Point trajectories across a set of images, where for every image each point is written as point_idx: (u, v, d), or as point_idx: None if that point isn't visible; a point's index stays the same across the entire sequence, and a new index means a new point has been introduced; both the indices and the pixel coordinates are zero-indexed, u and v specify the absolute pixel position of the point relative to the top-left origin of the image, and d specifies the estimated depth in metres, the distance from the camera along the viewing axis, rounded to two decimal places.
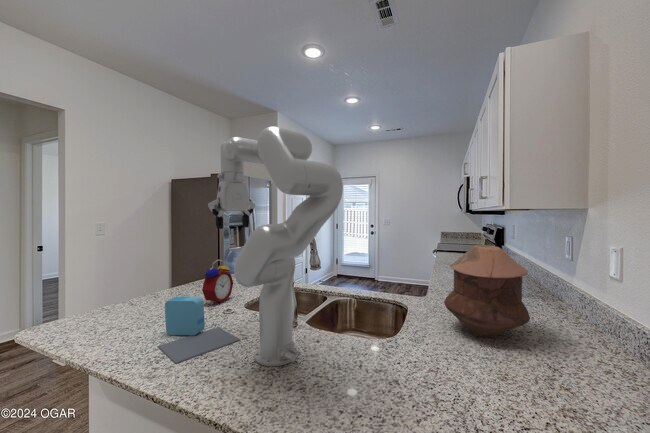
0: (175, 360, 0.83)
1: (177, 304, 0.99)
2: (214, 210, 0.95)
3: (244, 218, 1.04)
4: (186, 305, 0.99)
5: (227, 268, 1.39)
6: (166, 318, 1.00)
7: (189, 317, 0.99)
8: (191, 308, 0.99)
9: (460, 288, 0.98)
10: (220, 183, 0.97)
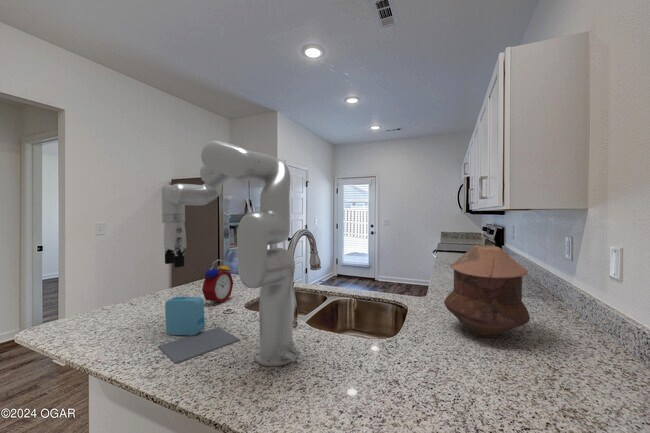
0: (175, 360, 0.83)
1: (177, 304, 1.00)
2: None
3: (170, 255, 1.11)
4: (186, 305, 0.99)
5: (227, 268, 1.39)
6: (166, 318, 1.00)
7: (189, 317, 0.99)
8: (191, 308, 0.99)
9: (460, 288, 0.98)
10: (178, 224, 1.05)
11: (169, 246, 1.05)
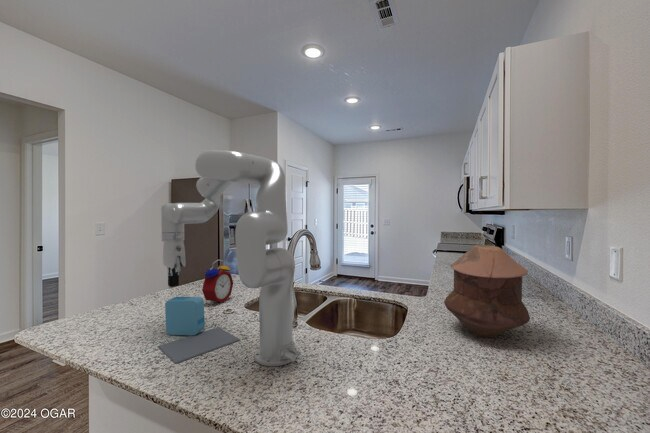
0: (175, 360, 0.83)
1: (177, 304, 1.00)
2: None
3: None
4: (186, 305, 0.99)
5: (227, 268, 1.39)
6: (166, 318, 1.00)
7: (189, 317, 0.99)
8: (191, 308, 0.99)
9: (460, 288, 0.98)
10: (178, 243, 1.05)
11: (168, 264, 1.05)
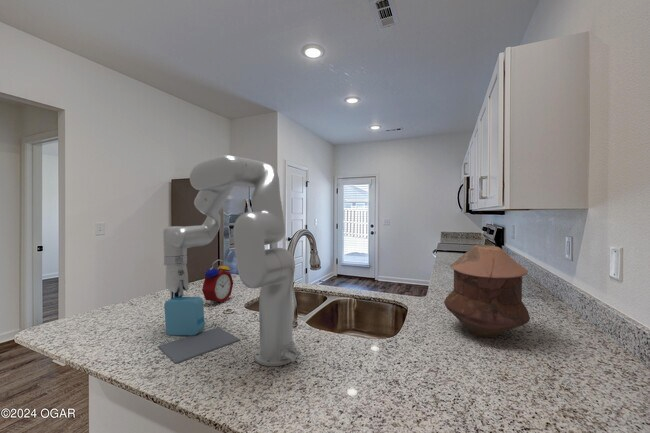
0: (175, 360, 0.83)
1: (177, 304, 0.99)
2: None
3: None
4: (186, 305, 0.99)
5: (227, 268, 1.39)
6: (166, 318, 1.00)
7: (188, 317, 0.99)
8: (191, 308, 0.99)
9: (460, 288, 0.98)
10: (180, 266, 1.04)
11: (171, 288, 1.04)
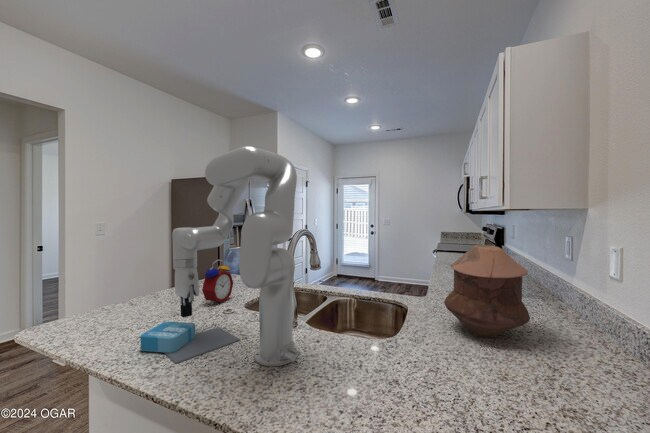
0: (175, 360, 0.83)
1: None
2: None
3: None
4: None
5: (227, 268, 1.39)
6: None
7: None
8: None
9: (460, 288, 0.98)
10: (191, 270, 0.98)
11: (181, 293, 0.98)
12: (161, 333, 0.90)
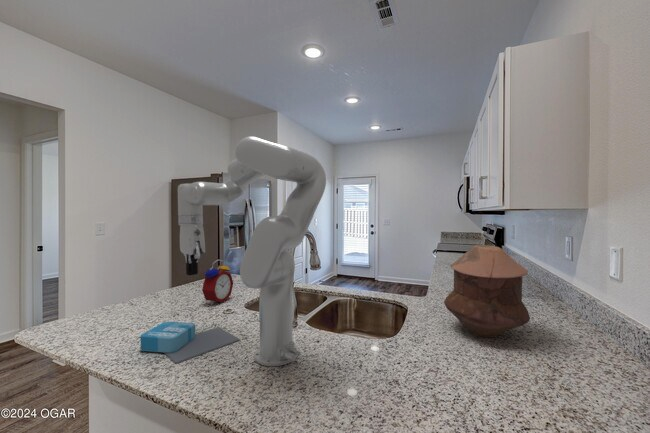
0: (175, 360, 0.83)
1: None
2: None
3: None
4: None
5: (227, 268, 1.39)
6: None
7: None
8: None
9: (460, 288, 0.98)
10: (197, 226, 0.96)
11: (187, 250, 0.96)
12: (161, 333, 0.90)
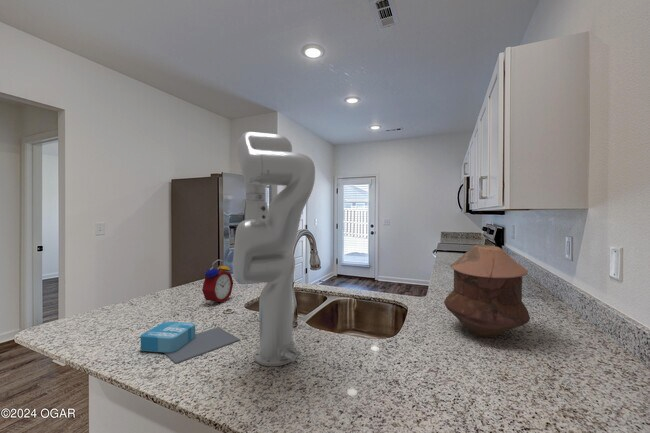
0: (175, 360, 0.83)
1: None
2: None
3: None
4: None
5: (227, 268, 1.39)
6: None
7: None
8: None
9: (460, 288, 0.98)
10: (262, 203, 1.09)
11: None
12: (161, 333, 0.90)
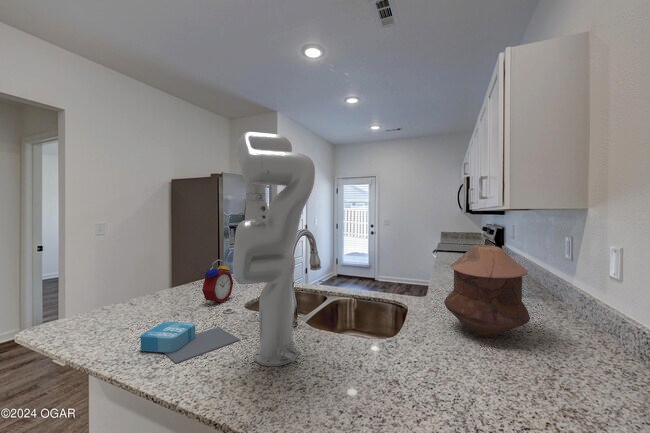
0: (175, 360, 0.83)
1: None
2: None
3: None
4: None
5: (227, 268, 1.39)
6: None
7: None
8: None
9: (460, 288, 0.98)
10: (263, 203, 1.10)
11: None
12: (161, 333, 0.90)
